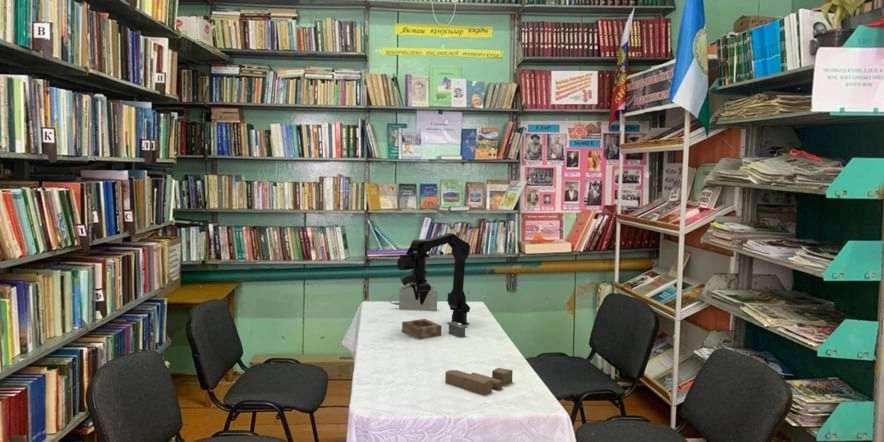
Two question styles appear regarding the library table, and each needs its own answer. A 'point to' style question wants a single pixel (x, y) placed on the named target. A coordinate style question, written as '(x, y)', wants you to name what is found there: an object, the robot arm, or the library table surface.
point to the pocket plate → (421, 328)
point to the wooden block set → (479, 380)
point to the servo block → (456, 329)
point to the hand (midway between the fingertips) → (419, 302)
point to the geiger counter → (410, 303)
